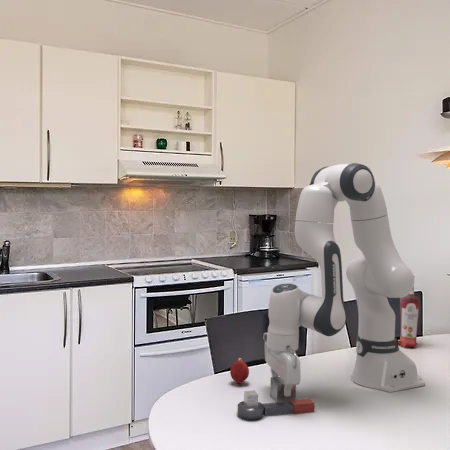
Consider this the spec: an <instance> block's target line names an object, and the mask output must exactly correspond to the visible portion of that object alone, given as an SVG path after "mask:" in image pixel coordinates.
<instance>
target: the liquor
mask: <svg viewBox="0 0 450 450" xmlns="http://www.w3.org/2000/svg"><path fill="white" fill-rule="evenodd" d="M414 278H415V275H414ZM420 304H421V300H420V298H419V297H418V296H416V295H415V285H414V286H413V289H412V291H411V292H410V293H409V294H408V295H407V296H405V297H402V298H399V321H400V323H399V324H400V325H399V330H400V332H399V334H400V336H399V337H400V338H399V340H402V341H405V344H406V346H405V347H404V348H406V347H408V348H407V349H413V348H412V347H414V348H416V346H417V345H418V343H417V338H418V337H417V335H418V324H419V317H420V316H419V315H420Z"/></svg>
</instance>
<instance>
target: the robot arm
mask: <svg viewBox="0 0 450 450" xmlns="http://www.w3.org/2000/svg"><path fill="white" fill-rule="evenodd" d="M345 201H346V203H347V205H348V208H349V215H350V222H351V227H352V234H353V240H354V241H353V242H354V244H355V246H356V247H357V248H358V249H359V250H360V251H361V253H362V256H361V257H356V258H355V257H354V258H353V259H352V260H351V261H350V262H349V263H348V265H347V267H346V271H345V272H346V274H345V275H346V278H347V281H348V282H349V283H350V284H351V287H352V290H353V292H354V295H355V296H354V297H355V300H356V304H357V311H358V328H357V329H358V333H357V335H356V343H355V344H356V346H355V347H356V348H355V350H356V357H355V363H354V367H353V372H352V375H351V380H352V381H353V382H354V383H356V384H358V385H360V386H362V387H363V386H364V387H367V388H369V389H370V388H371V389H376V390H382V391H384V392H389V393H392V392H397V391H401V390H402V391H403V390H407V389H413V388H417V387H423V386H425V385H426V382H425V379H424V378H423V377H421V376H420V375H419V374H418V369H417V368H418V367H417V365H416V363H415V362H414V361H413V359H412V358H410V357H409V356H408V355H407V354H405V352H403V351H402V350H400V347H401V348H402V349H403V348H406V347H405V346H406V344H405V341H402V340H400V339H398V338H396V337H395V335H396V334H395V333H396V332H395V331H396V314H395V311H394V310H393V308H392V307H391V305H390V303H389V300H388V298H389V299H391V298H392V299H400V298H402V297H405V296H407V295H408V294H409V293H410V292H411V291H412V289H413V286H414V287H415V277H414V276H415V275H414V273H413V270H411V269H410V268H409V267H408V266H407V265H406V263H405V262H404V261H403V260H402V258H401V256H400V254H399V252H398V250H397V248H396V246H395V244H394V241H393V237H392V233H391V227H390V221H389V216H388V215H389V214H388V209H387V204H386V201H385V197H384V194H383V191H382V188H381V186H380V185H379V184H378V183H377V182H376V181H375V176H374V175H373V172H372V171H371V169H370V168H369V167H368V166H367V165H365V164H362V163H358V162H357V163H356V162H353V163H338V164H335V165H330V166H324V167H321V168H319V169H318V170H316V171H315V172H314V173H313V175H312V177H311V179H310V183H309V185H307V186H305V187H304V188H302V190H301V193H300V195H299V198H298V203H297V208H296V212H295V213H296V214H295V223H294V239H295V241H296V243H297V245H298V246H299V247H300V249H302V251H303V252H305V253H307V254H308V255H310V256H311V257H312V258H313V259H314V260H315V261H316V262H317V264H318V265H319V267H320V274H321V275H320V276H321V296H318V295H314V294H310V293H308V292H305V291H303V290H302V289H300V287H299V286H297V285H296V284H294V283H282V284H278V285H275V286H274V287H273V288H272V290H271V292H270V295H269V300H268V315H267V316H268V319H269V325H268V327H267V332H264V333H263V337H262V338H263V341H264V360H265V362H266V364H267V365H268V366H269V367H270V373H271V377H281V379H282V380H283V381H284V384H285V387H284V388H283V394H284V396H286V397H288V396H291V389H292V387H293V385H296V386H298V385H300V384H301V380H302V379H301V376H302V375H301V372H302V371H301V360H300V357H299V356H298V354H297V352H296V351H298V350H299V338H300V329H299V328H300V327H303V328H306V329H309V330H312V331H316V332H317V333H319V334H322V335H323V336H326V337H332V336H335V335H337V334H338V333H339V332H341V330H343V328H344V327H345V325H346V322H347V310H346V306H345V303H344V302H345V300H344V287H343V285H344V284H343V264H342V262H343V261H342V255H341V249H340V247H339V245H338V244H337V242H336V239H335V234H334V223H335V220H334V219H335V208H336V206H337V204H338V203H339V202H345Z"/></svg>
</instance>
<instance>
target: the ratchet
mask: <svg viewBox="0 0 450 450" xmlns="http://www.w3.org/2000/svg"><path fill="white" fill-rule="evenodd" d="M307 413H315V401H313V400H312V399H311V398H297V399H296V400H289V402H277V403H275V402H269V403H268V402H267V403H262V402H260V401H259V394H258V392H257V391H256V390H255V389H254V390H244V391H243V400H242V401H241V402H238V404H237V412H236V415H237V417H238V418H239V419H241V420H243V421H247V422H257V421H261V420H262V419H264V417H272V416H285V415H292V414H293V415H297V414H307Z"/></svg>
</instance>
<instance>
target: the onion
mask: <svg viewBox="0 0 450 450" xmlns="http://www.w3.org/2000/svg"><path fill="white" fill-rule="evenodd" d="M229 370H230V372H229V374H230V377H231V379H232V380H233V381H234V382H235V383H237V384H239V385H240V384H242V383H243V382H244V381H246V380H247V379H248V378H249V375H250V369H249V367H248V365H247V364H246V363H245V362H244V361H243V358H241V357H239V358H238V360H237V361H235V362H234V363H233V364H232V366H231V367H230V369H229Z"/></svg>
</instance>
